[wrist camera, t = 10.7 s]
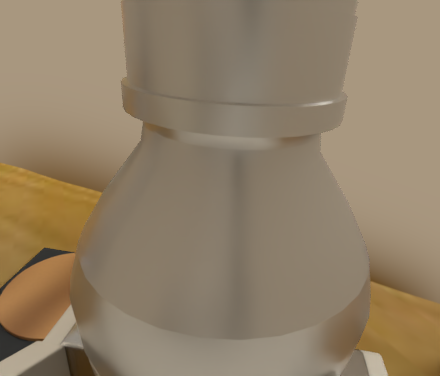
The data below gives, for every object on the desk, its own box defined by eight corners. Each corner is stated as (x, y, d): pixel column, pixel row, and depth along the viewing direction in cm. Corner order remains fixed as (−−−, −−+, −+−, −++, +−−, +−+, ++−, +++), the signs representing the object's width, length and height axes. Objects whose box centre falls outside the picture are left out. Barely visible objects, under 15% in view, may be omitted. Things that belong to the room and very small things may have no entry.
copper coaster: (-36, 328, 21) (-37, 324, 21) (49, 248, 29) (48, 245, 29) (91, 353, 20) (91, 350, 20) (143, 263, 28) (143, 260, 28)
